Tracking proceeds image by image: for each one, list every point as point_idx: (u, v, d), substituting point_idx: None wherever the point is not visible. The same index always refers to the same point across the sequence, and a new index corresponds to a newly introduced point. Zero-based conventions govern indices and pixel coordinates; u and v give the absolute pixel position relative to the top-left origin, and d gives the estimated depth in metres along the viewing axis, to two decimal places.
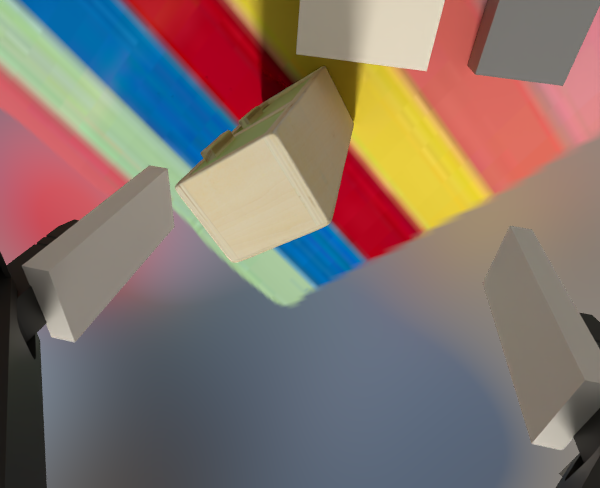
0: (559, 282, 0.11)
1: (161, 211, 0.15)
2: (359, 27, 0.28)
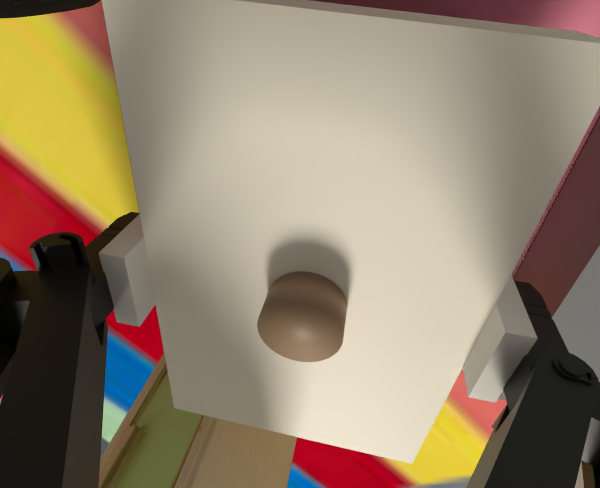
0: None
1: None
2: (282, 400, 0.15)
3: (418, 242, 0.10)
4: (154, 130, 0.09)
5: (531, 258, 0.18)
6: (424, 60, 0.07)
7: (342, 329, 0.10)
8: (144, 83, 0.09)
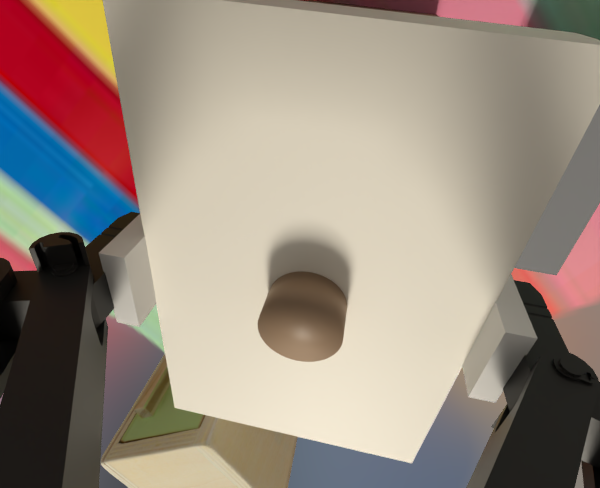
0: None
1: None
2: (282, 400, 0.15)
3: (418, 242, 0.10)
4: (155, 131, 0.09)
5: None
6: (424, 61, 0.07)
7: (342, 329, 0.10)
8: (145, 84, 0.09)
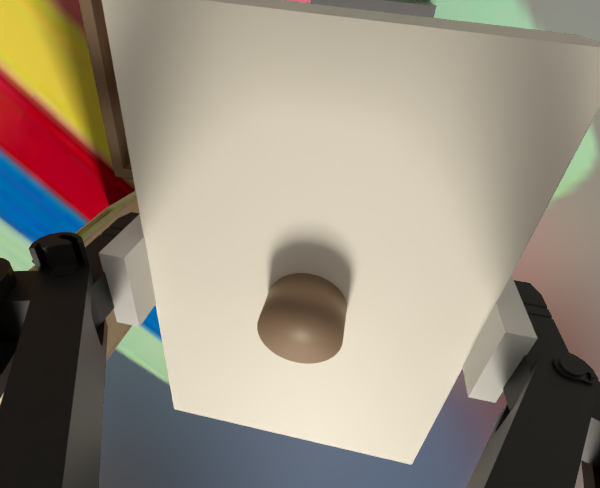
0: None
1: None
2: (282, 401, 0.15)
3: (417, 244, 0.10)
4: (154, 133, 0.09)
5: None
6: (424, 64, 0.07)
7: (342, 331, 0.10)
8: (144, 86, 0.09)
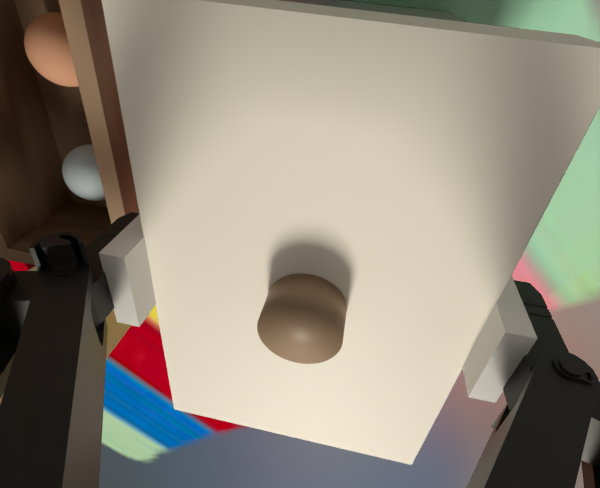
0: None
1: None
2: (282, 401, 0.15)
3: (418, 245, 0.10)
4: (154, 133, 0.09)
5: None
6: (424, 64, 0.07)
7: (342, 331, 0.10)
8: (144, 86, 0.09)
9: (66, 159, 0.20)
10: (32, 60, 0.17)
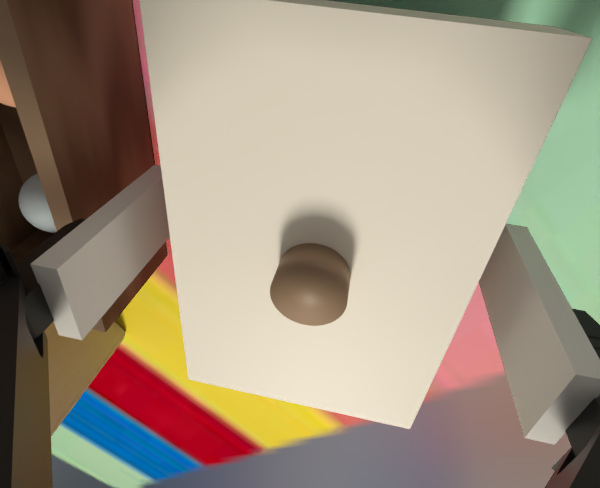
0: (552, 278, 0.11)
1: (166, 210, 0.15)
2: (289, 368, 0.16)
3: (414, 214, 0.11)
4: (180, 114, 0.11)
5: None
6: (419, 50, 0.09)
7: (346, 293, 0.12)
8: (173, 72, 0.10)
9: (22, 188, 0.17)
10: None
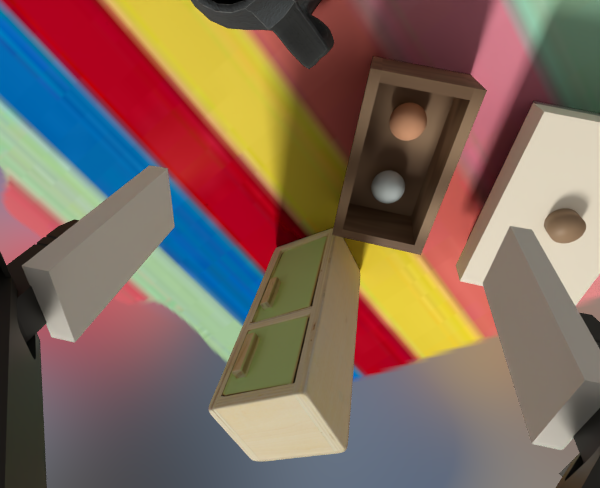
0: (559, 282, 0.11)
1: (161, 211, 0.15)
2: None
3: None
4: (535, 154, 0.28)
5: None
6: None
7: (585, 228, 0.29)
8: (541, 139, 0.27)
9: (382, 179, 0.34)
10: (400, 128, 0.31)
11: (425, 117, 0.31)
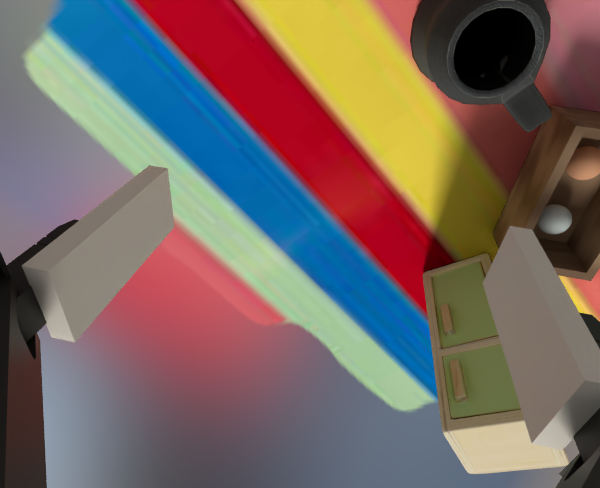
0: (559, 282, 0.11)
1: (161, 211, 0.15)
2: None
3: None
4: None
5: None
6: None
7: None
8: None
9: (552, 213, 0.37)
10: (582, 170, 0.34)
11: None
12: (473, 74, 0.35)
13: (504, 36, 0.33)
